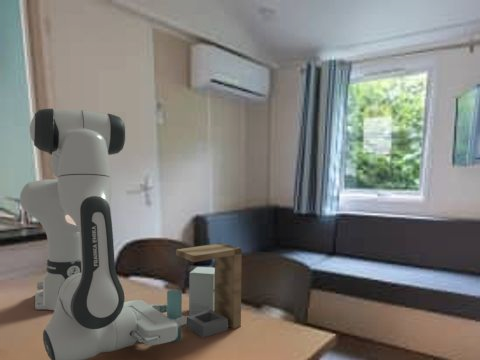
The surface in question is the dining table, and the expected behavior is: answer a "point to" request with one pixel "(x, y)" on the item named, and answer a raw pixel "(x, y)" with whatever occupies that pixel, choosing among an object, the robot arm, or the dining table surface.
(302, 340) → the dining table surface
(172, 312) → the peg
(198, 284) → the supplement box
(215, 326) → the socket
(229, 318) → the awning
